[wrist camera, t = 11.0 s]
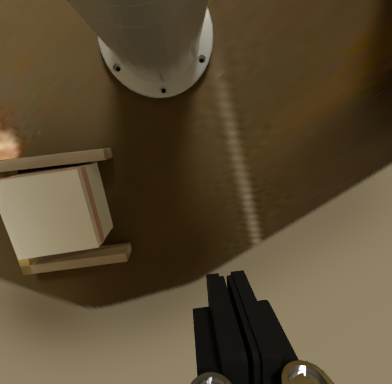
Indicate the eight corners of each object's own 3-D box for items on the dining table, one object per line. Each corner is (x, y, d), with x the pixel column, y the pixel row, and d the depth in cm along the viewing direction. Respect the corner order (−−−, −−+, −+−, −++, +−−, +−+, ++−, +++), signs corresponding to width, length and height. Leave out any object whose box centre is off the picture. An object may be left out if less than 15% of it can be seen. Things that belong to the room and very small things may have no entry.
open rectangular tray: (3, 159, 28) (-17, 162, 25) (111, 147, 29) (103, 149, 26) (37, 262, 32) (23, 275, 29) (131, 249, 33) (127, 261, 30)
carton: (25, 171, 29) (-13, 182, 23) (97, 161, 29) (77, 168, 23) (47, 236, 31) (18, 260, 26) (114, 226, 32) (99, 247, 26)
